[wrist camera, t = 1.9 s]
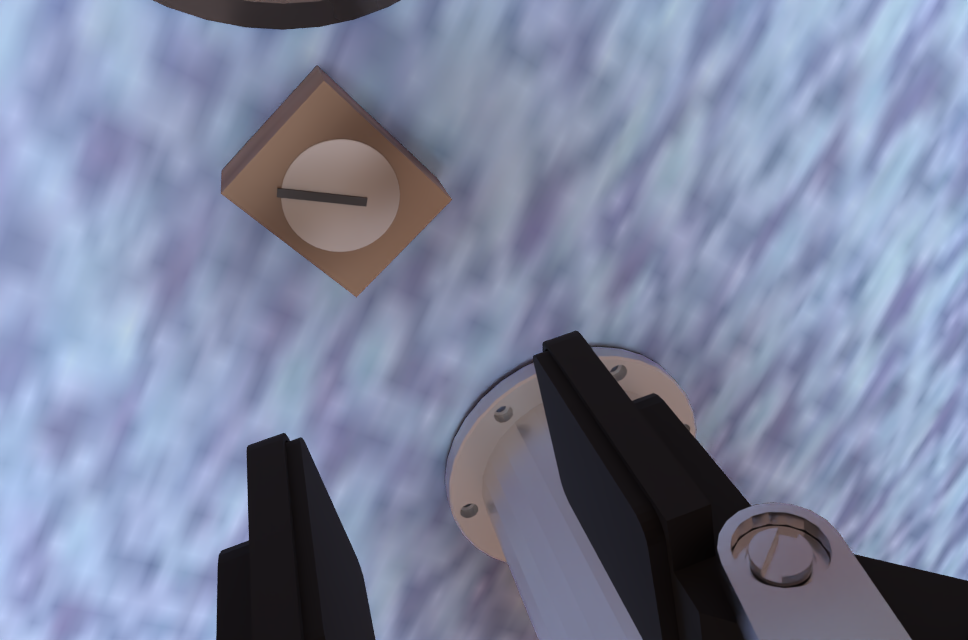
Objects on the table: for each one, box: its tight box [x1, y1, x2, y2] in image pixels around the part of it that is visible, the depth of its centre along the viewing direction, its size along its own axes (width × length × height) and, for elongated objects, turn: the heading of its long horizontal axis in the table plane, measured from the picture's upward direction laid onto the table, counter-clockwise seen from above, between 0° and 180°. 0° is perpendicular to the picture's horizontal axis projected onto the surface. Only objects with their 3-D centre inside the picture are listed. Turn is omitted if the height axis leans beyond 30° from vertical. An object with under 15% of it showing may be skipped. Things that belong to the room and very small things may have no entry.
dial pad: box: [221, 66, 452, 297], centre depth 28 cm, size 6×5×3 cm
